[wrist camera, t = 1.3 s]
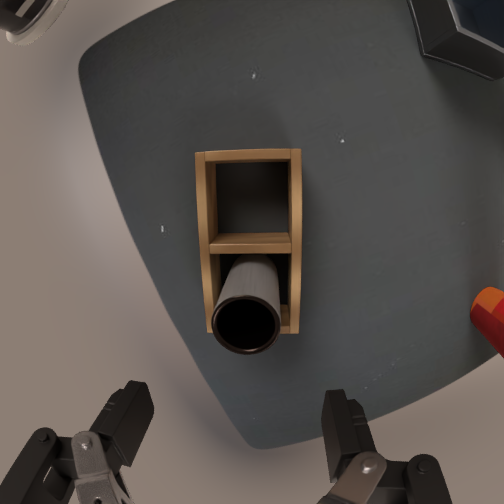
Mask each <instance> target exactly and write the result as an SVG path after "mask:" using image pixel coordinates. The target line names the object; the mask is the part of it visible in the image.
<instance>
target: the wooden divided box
mask: <svg viewBox="0 0 504 504" xmlns="http://www.w3.org/2000/svg"><path fill="white" fill-rule="evenodd" d="M247 162H287V164H288V233H287V232H283V233H219V234H218V214H217V190H216V164H223V163H247ZM195 168H196V193H197V213H198V230H199V245H200V259H201V271H202V283H203V294H204V304H205V314H206V324H207V332H208V333H213V332H212V328H211V317H212V314H213V311H214V309H215V306H216V304H217V301H218V299H219V296H220V294H221V292H222V286H221V270H220V254H258V253H288V299H287V305H280V314H281V331H280V334H289V333H290V334H296V333H299V317H300V294H301V261H302V157H301V149H243V150H222V151H207V152H196V153H195Z"/></svg>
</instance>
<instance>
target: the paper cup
mask: <svg viewBox="0 0 504 504" xmlns="http://www.w3.org/2000/svg"><path fill="white" fill-rule="evenodd" d="M470 318H471V321H472V323H473V324H474V325H475V326H476V328H477V329H478V330H479V331H480V332H481V333H482V334H483V335H484V336H485V338H486V339H487V340H488V341H489V342H490V343H491V344H492V346H493V347H494V348H495V349H496V350H497V351H498V352H499V354H500V355H501V356H502V357H503V358H504V292H502V291H500V290H498V289H496V288H494V287H487V288H485V289H483V290H482V291H481V292H480V293H479V294H478V295H477V297H476V298H475V300H474V302H473V304H472V307H471V312H470Z"/></svg>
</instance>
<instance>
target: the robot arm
mask: <svg viewBox="0 0 504 504" xmlns="http://www.w3.org/2000/svg"><path fill="white" fill-rule="evenodd" d="M51 2H52V0H0V29H2V30H5V31H8V32H9V33H11V34H14V35H19V34H22V33H23V32H25V31H27V30H28V29H29V28H30V27H32V26H33V25H34V24H35V23H36V22H37V21H38V20H39V18H40V17H41V16H42V15H43V14H44V12H45V11H46V10H47V8H48V7H49V5H50V4H51ZM153 414H154V405H153V402H152V399H151V396H150V392H149V389H148V386H147V384H146V383H145V382H138V381H132V380H131V381H129V382H128V383H127V385H126V386H125V388H124V389H119V390H118V391H116V392H115V393H113V394H112V395H111V397H110V398H109V400H108V401H107V403H106V404H105V406H104V407H103V410H102V411H101V412H100V414H99V415H98V417H97V418H96V420H95V421H94V423H93V425H92V426H91V428H90V430H89V431H82V432H79V433H77V434H76V435H75V436H74V437H73V438H71V437H58V436H57V435H56V433H55V432H54V431H53V430H52V429H50V428H40V429H38V430H36V431H35V432H34V433H33V435H32V436H31V438H30V439H29V440H28V442H27V443H26V445H25V447H24V448H23V450H22V451H21V453H20V454H19V456H18V457H17V459H16V460H15V462H14V464H13V465H12V467H11V468H10V470H9V472H8V474H7V475H6V477H5V478H4V480H3V482H2V483H1V485H0V504H68V502H69V500H70V498H71V496H72V494H73V491H74V489H75V487H76V491H77V495H78V499H79V502H80V504H134V502H133V500H132V498H131V495H130V493H129V491H128V488H127V486H126V484H125V481H124V479H123V476H122V474H121V471H120V468H121V466H122V465H125V466H129V467H131V465H132V462H133V460H134V458H135V456H136V453H137V451H138V449H139V447H140V444H141V442H142V440H143V438H144V435H145V433H146V431H147V429H148V427H149V424H150V422H151V420H152V418H153ZM321 422H322V430H323V436H324V442H325V449H326V455H327V462H328V469H329V476H330V482H331V483H335V482H336V483H335V485H334V486H333V487H332V489H331V490H330V491H329V492H328V494H327V495H326V496H323V498H321V499H320V501H319V502H318V503H317V504H452V501H451V498H450V495H449V491H448V488H447V486H446V483H445V479H444V476H443V474H442V471H441V468H440V465H439V463H438V461H437V459H436V458H434V457H433V456H431V455H428V454H420V455H417V456H414V457H413V458H412V459H411V460H410V461H409V462H402V461H390V460H387V459H385V458H384V457H383V456H381V455H380V454H379V453H378V452H377V450H376V448H375V445H374V441H373V438H372V435H371V432H370V429H369V426H368V424H367V420H366V417H365V414H364V411H363V408H362V406H361V405H360V404H359V403H358V402H357V401H356V400H355V399H352V400H347V398H346V395H345V392H344V390H343V389H339V390H327V391H326V393H325V399H324V404H323V410H322V417H321ZM50 467H52V468H51V469H50V471H49V473H48V475H47V477H46V479H45V481H44V483H43V480H44V477H45V475H46V474H47V472H48V470H49V468H50Z"/></svg>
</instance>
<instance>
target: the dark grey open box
mask: <svg viewBox="0 0 504 504" xmlns="http://www.w3.org/2000/svg"><path fill="white" fill-rule="evenodd" d="M407 3H408V6H409V9H410V13H411V16H412V20H413V23H414V27H415V31H416V35H417V40H418V44H419V49H420V54H421V56H422V57H426V58H429V59H433V60H436V61H439V62H442V63H445V64H449V65H451V66H454V67H457V68H460V69H463V70H465V71H468V72H471V73H473V74H476V75H478V76H481V77H483V78H485V79H488V80H490V81H494V80H497V79H500V78H503V77H504V0H407Z"/></svg>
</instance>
